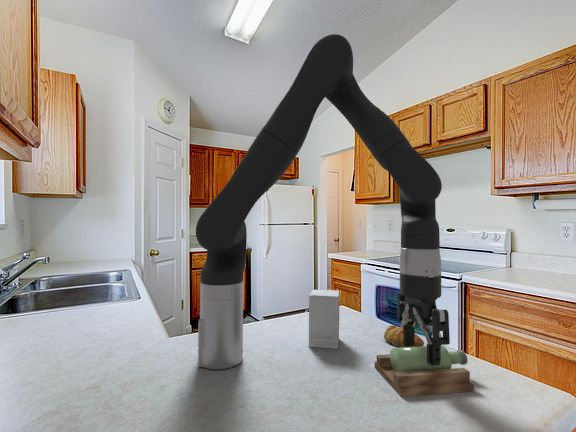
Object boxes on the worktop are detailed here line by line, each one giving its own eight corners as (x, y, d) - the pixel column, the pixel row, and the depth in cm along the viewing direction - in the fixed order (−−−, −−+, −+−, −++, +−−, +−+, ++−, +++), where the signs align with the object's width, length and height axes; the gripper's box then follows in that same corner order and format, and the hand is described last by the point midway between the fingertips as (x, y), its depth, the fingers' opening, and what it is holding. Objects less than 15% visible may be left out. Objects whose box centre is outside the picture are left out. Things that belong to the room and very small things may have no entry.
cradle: (400, 396, 54) (400, 379, 54) (374, 367, 65) (374, 353, 65) (473, 391, 56) (473, 374, 56) (436, 363, 67) (436, 349, 67)
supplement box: (338, 349, 74) (338, 296, 74) (307, 347, 75) (308, 295, 76) (339, 338, 81) (339, 290, 81) (311, 336, 82) (311, 288, 83)
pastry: (429, 347, 76) (429, 331, 76) (414, 354, 72) (414, 338, 72) (396, 336, 83) (396, 322, 83) (380, 342, 79) (380, 327, 79)
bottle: (401, 380, 57) (402, 355, 57) (389, 367, 62) (390, 343, 62) (471, 375, 59) (472, 351, 59) (454, 363, 64) (455, 340, 64)
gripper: (385, 266, 67) (385, 341, 67) (422, 278, 53) (423, 373, 53) (417, 265, 68) (418, 340, 68) (462, 277, 54) (463, 370, 54)
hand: (420, 354), depth 60 cm, fingers open, 8 cm apart
